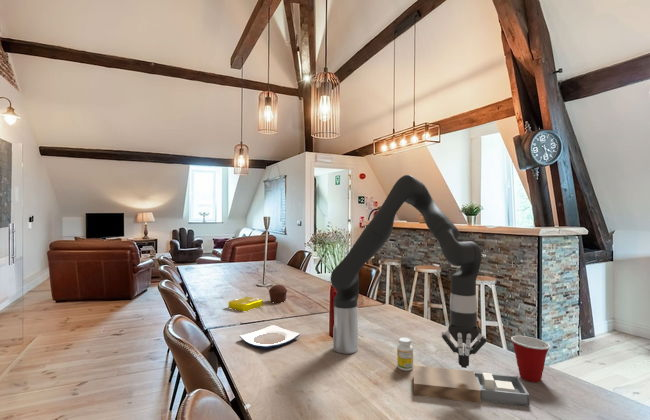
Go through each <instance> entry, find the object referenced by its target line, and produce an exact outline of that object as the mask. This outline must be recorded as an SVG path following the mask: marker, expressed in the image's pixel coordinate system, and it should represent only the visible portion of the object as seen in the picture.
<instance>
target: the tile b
mask: <svg viewBox="0 0 650 420" xmlns="http://www.w3.org/2000/svg"><path fill="white" fill-rule="evenodd" d="M494 384H495V390H497V391H507V392H515V389H514V387H513V385H512V382H507V381H499V380H494Z"/></svg>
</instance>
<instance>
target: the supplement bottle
mask: <svg viewBox="0 0 650 420" xmlns="http://www.w3.org/2000/svg"><path fill="white" fill-rule="evenodd" d="M396 351H397V352H396V353H397V354H396V356H397V357H396V359H397V361H396V362H397V367H398V369H399V370H402V371H406V372H407V371H408V372H409V371H412V370H414V348H413V346H412V340H411V338H408V337H400V338H399V339H398V344H397V347H396Z"/></svg>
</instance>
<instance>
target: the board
mask: <svg viewBox="0 0 650 420" xmlns="http://www.w3.org/2000/svg"><path fill="white" fill-rule="evenodd" d="M413 396H416V397H424V398H431V399H432V398H434V399H442V400H443V399H444V400H449V401H450V400H452V401H460V402H467V403H476V404H481V402H482V401H481V394H480V388H479V385H478V382H477V380H476V377H475V372H474V370H466V369H464V370H463V369H453V368H445V367H444V368H443V367H432V366H421V365H413Z"/></svg>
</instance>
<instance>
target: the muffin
mask: <svg viewBox="0 0 650 420" xmlns="http://www.w3.org/2000/svg"><path fill="white" fill-rule="evenodd" d="M287 293H288V290H287V288H286V287H285V286H284V285H282V284H275V285H272V286H271V287H270V288H269V290H268V294H269V300H270V303H272V302H274V303H273V304H282V303H281V302H283V303H285V302H286V301H287V300H286V299H287ZM284 301H285V302H284Z"/></svg>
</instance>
